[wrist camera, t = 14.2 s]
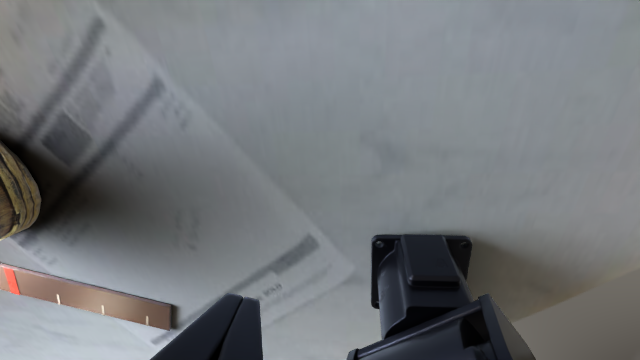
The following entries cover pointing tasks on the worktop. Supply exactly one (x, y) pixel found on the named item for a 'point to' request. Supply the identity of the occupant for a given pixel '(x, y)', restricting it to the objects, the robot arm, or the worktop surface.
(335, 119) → the worktop surface
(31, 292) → the ruler
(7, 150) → the wooden mug
